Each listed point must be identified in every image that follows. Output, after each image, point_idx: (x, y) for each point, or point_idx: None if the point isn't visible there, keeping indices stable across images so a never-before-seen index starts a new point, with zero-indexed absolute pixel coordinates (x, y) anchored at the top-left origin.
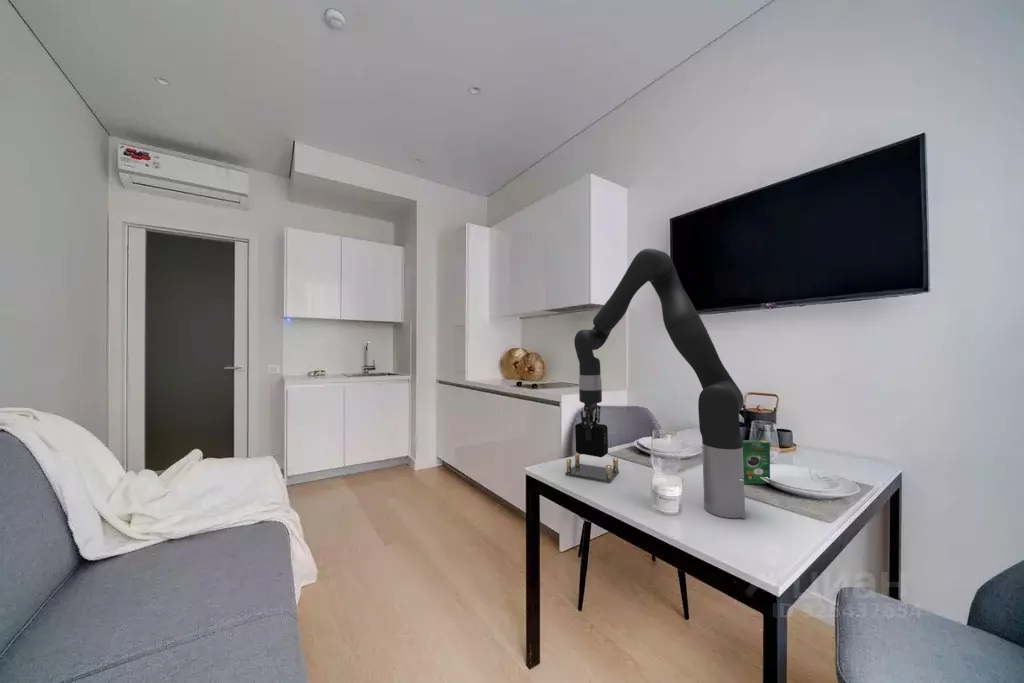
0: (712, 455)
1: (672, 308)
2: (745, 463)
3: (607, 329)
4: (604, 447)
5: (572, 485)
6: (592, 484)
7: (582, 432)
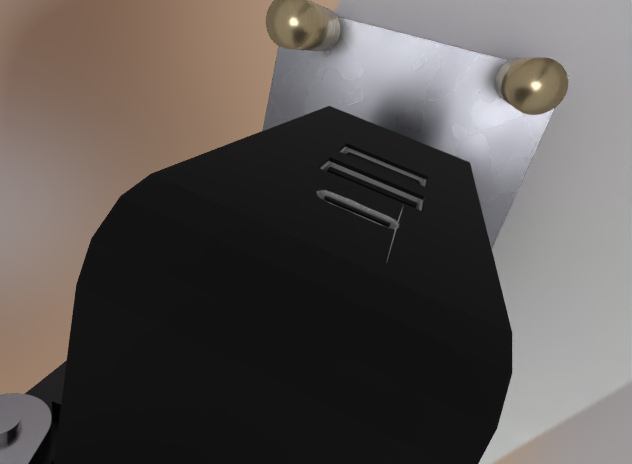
0: None
1: None
2: None
3: None
4: (425, 163)
5: (620, 338)
6: (591, 206)
7: None
